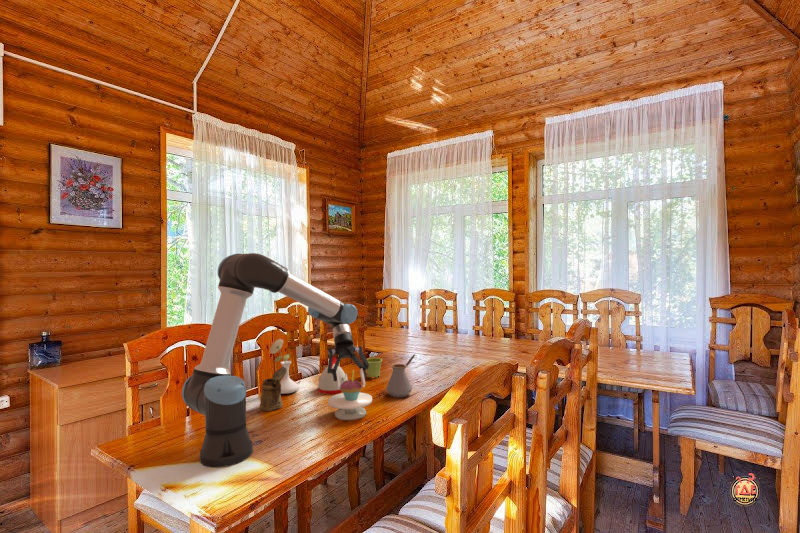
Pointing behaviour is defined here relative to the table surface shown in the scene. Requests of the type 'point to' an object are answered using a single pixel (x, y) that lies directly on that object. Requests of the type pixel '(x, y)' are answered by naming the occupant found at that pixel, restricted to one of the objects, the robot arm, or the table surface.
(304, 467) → the table surface
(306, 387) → the table surface
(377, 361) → the plant pot
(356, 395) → the cupcake
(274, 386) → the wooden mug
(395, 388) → the coffee pot
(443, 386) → the table surface
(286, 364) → the flower in vase
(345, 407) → the cake stand
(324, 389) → the kitchen timer
